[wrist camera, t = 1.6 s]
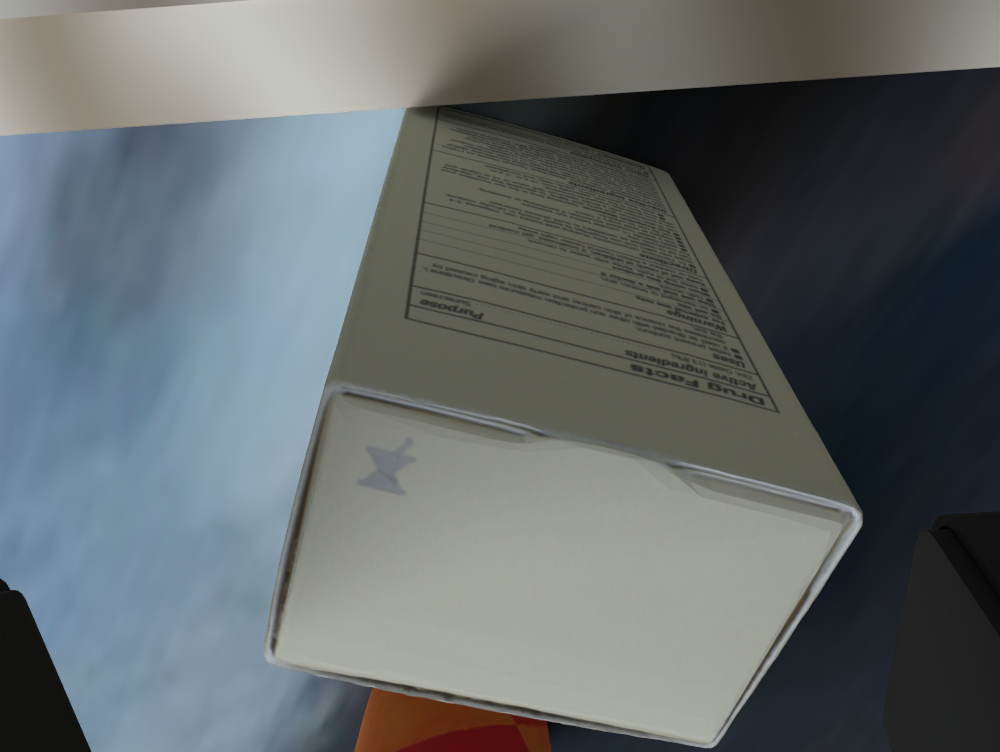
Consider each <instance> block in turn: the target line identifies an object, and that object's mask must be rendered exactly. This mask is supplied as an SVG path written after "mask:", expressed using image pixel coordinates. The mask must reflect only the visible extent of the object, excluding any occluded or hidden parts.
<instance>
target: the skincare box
mask: <svg viewBox="0 0 1000 752" xmlns="http://www.w3.org/2000/svg"><path fill="white" fill-rule="evenodd" d="M862 523H863V512H862V510H861V509H860V507H859V505H858V504H857V502H856V500H855V499H854V497H853V495H852V493H851V491H850V489H849V488H848V486H847V484H846V482H845V481H844V479H843V477H842V476H841V474H840V472H839V470H838V469H837V467H836V465H835V463H834V462H833V460H832V458H831V457H830V455H829V453H828V451H827V449H826V448H825V446H824V444H823V442H822V440H821V439H820V437H819V435H818V433H817V432H816V430H815V429H814V427H813V425H812V424H811V422H810V420H809V418H808V416H807V415H806V413H805V411H804V409H803V408H802V406H801V404H800V402H799V401H798V399H797V397H796V395H795V394H794V392H793V390H792V388H791V386H790V385H789V383H788V381H787V379H786V378H785V376H784V374H783V372H782V371H781V369H780V367H779V365H778V364H777V362H776V360H775V358H774V356H773V355H772V353H771V351H770V349H769V347H768V346H767V344H766V342H765V340H764V339H763V337H762V335H761V333H760V332H759V330H758V328H757V326H756V325H755V323H754V321H753V320H752V318H751V316H750V314H749V313H748V311H747V309H746V307H745V305H744V304H743V302H742V300H741V298H740V297H739V295H738V293H737V291H736V290H735V288H734V286H733V284H732V283H731V281H730V279H729V277H728V276H727V274H726V272H725V270H724V269H723V267H722V265H721V264H720V262H719V260H718V258H717V257H716V255H715V253H714V251H713V250H712V248H711V246H710V244H709V243H708V241H707V239H706V237H705V236H704V234H703V232H702V230H701V229H700V227H699V225H698V224H697V222H696V220H695V218H694V217H693V215H692V213H691V211H690V209H689V208H688V206H687V204H686V202H685V200H684V199H683V197H682V195H681V194H680V192H679V190H678V189H677V187H676V185H675V183H674V182H673V180H672V178H671V176H670V175H669V174H668V173H667V172H665V171H663V170H661V169H658V168H655V167H652V166H649V165H645V164H642V163H640V162H637V161H634V160H631V159H628V158H625V157H621V156H618V155H615V154H612V153H609V152H606V151H602V150H599V149H596V148H593V147H590V146H586V145H583V144H580V143H576V142H573V141H570V140H566V139H563V138H560V137H556V136H552V135H549V134H545V133H542V132H538V131H535V130H532V129H528V128H525V127H521V126H518V125H514V124H510V123H507V122H503V121H499V120H496V119H492V118H488V117H485V116H481V115H477V114H473V113H470V112H466V111H462V110H458V109H454V108H450V107H446V106H442V105H439V106H424V107H410V108H406V111H405V114H404V117H403V121H402V124H401V127H400V131H399V134H398V138H397V141H396V144H395V148H394V151H393V154H392V158H391V161H390V164H389V168H388V171H387V175H386V178H385V181H384V185H383V188H382V192H381V195H380V199H379V202H378V205H377V209H376V212H375V216H374V219H373V222H372V226H371V229H370V233H369V236H368V240H367V243H366V246H365V250H364V253H363V257H362V260H361V264H360V267H359V270H358V274H357V277H356V281H355V284H354V288H353V291H352V295H351V298H350V302H349V305H348V309H347V312H346V316H345V319H344V323H343V326H342V330H341V333H340V337H339V340H338V344H337V347H336V350H335V353H334V357H333V360H332V363H331V366H330V369H329V373H328V376H327V379H326V383H325V386H324V390H323V394H322V397H321V401H320V405H319V408H318V412H317V416H316V419H315V423H314V427H313V430H312V434H311V438H310V442H309V445H308V449H307V453H306V456H305V460H304V464H303V467H302V471H301V475H300V479H299V484H298V488H297V492H296V496H295V500H294V504H293V508H292V512H291V516H290V520H289V525H288V529H287V533H286V537H285V541H284V546H283V550H282V555H281V559H280V563H279V568H278V573H277V578H276V583H275V588H274V594H273V599H272V604H271V610H270V617H269V623H268V629H267V634H266V639H265V644H264V655H265V659H266V660H267V661H268V662H269V663H270V664H272V665H275V666H278V667H281V668H284V669H290V670H296V671H301V672H305V673H310V674H313V675H317V676H320V677H327V678H331V679H335V680H340V681H345V682H350V683H354V684H357V685H361V686H367V687H374V688H377V689H381V690H386V691H391V692H397V693H403V694H406V695H409V696H416V697H423V698H428V699H433V700H437V701H442V702H446V703H455V704H461V705H466V706H470V707H475V708H479V709H484V710H489V711H495V712H501V713H508V714H513V715H518V716H523V717H528V718H534V719H539V720H546V721H551V722H557V723H561V724H566V725H575V726H579V727H584V728H589V729H595V730H601V731H607V732H614V733H621V734H627V735H632V736H637V737H643V738H651V739H658V740H663V741H669V742H675V743H680V744H686V745H691V746H697V747H702V748H712V747H714V746H716V745H717V744H718V742H719V741H720V740H721V738H722V737H723V735H724V734H725V732H726V731H727V729H728V727H729V726H730V724H731V723H732V721H733V720H734V718H735V716H736V715H737V713H738V712H739V710H740V709H741V708H742V706H743V705H744V704H745V702H746V701H747V699H748V698H749V697H750V695H751V694H752V693H753V691H754V690H755V688H756V686H757V685H758V683H759V682H760V680H761V679H762V677H763V676H764V675H765V673H766V672H767V670H768V669H769V667H770V666H771V664H772V663H773V662H774V660H775V659H776V658H777V656H778V655H779V653H780V651H781V650H782V648H783V647H784V645H785V644H786V642H787V641H788V639H789V637H790V636H791V634H792V632H793V631H794V629H795V628H796V626H797V625H798V623H799V622H800V620H801V619H802V617H803V616H804V615H805V613H806V612H807V610H808V609H809V607H810V606H811V604H812V602H813V601H814V600H815V598H816V597H817V595H818V594H819V592H820V591H821V589H822V588H823V586H824V585H825V583H826V581H827V580H828V578H829V577H830V575H831V573H832V572H833V570H834V569H835V567H836V566H837V564H838V562H839V561H840V559H841V558H842V556H843V555H844V553H845V552H846V550H847V549H848V547H849V546H850V544H851V543H852V541H853V540H854V538H855V536H856V535H857V533H858V532H859V530H860V528H861V527H862Z"/></svg>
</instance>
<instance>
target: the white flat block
mask: <svg viewBox="0 0 1000 752" xmlns="http://www.w3.org/2000/svg"><path fill="white" fill-rule="evenodd" d="M989 67H1000V0H0V136H4V135H19V134H33V133H48V132H62V131H77V130H91V129H105V128H120V127H134V126H149V125H163V124H178V123H192V122H207V121H221V120H236V119H250V118H265V117H279V116H294V115H308V114H323V113H337V112H352V111H366V110H381V109H395V108H410V107H424V106H439V105H453V104H468V103H482V102H497V101H511V100H526V99H540V98H555V97H569V96H584V95H598V94H613V93H627V92H642V91H656V90H671V89H685V88H700V87H714V86H729V85H743V84H758V83H772V82H787V81H801V80H816V79H830V78H845V77H859V76H874V75H888V74H903V73H917V72H931V71H946V70H960V69H975V68H989Z"/></svg>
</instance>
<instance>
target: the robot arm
mask: <svg viewBox="0 0 1000 752" xmlns="http://www.w3.org/2000/svg"><path fill="white" fill-rule="evenodd" d="M883 718H884V727H885V732H886V736H887V740H888V742H889V745H890V747H891V750H892V752H1000V513H999V512H983V513H968V514H953V515H943V516H939V517H938V518H937V519H936V521H935V522H934V525H933V528H932V530H927V531H922V532H921V533H920V534H919V535H918V537H917V541H916V545H915V550H914V555H913V560H912V565H911V570H910V576H909V581H908V586H907V591H906V596H905V601H904V606H903V612H902V617H901V622H900V627H899V632H898V637H897V642H896V647H895V653H894V658H893V663H892V668H891V673H890V678H889V683H888V688H887V694H886V699H885V704H884V711H883ZM0 752H91V750H90V747H89V745H88V743H87V741H86V738H85V736H84V734H83V731H82V729H81V727H80V724H79V722H78V720H77V717H76V715H75V713H74V710H73V708H72V706H71V703H70V701H69V699H68V697H67V694H66V692H65V690H64V687H63V685H62V683H61V680H60V678H59V676H58V673H57V671H56V669H55V666H54V664H53V662H52V659H51V657H50V655H49V653H48V650H47V648H46V646H45V643H44V641H43V639H42V636H41V634H40V632H39V629H38V627H37V625H36V622H35V620H34V618H33V615H32V613H31V611H30V608H29V606H28V604H27V602H26V599H25V598H24V596H23V595H22V593H20V592H19V591H17V590H10V588H9V587H8V585H7V584H6V582H4V581H3V580H1V579H0Z"/></svg>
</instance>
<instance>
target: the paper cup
mask: <svg viewBox="0 0 1000 752" xmlns="http://www.w3.org/2000/svg"><path fill="white" fill-rule="evenodd" d="M355 752H551V748H550V740H549V733H548V726H547V721H546V720H539V719H534V718H528V717H523V716H518V715H513V714H508V713H501V712H495V711H489V710H484V709H479V708H475V707H470V706H466V705H461V704H455V703H446V702H442V701H437V700H433V699H428V698H423V697H416V696H409V695H406V694H403V693H397V692H391V691H386V690H381V689H377V688H374V687H373V689H372V691H371V694H370V697H369V700H368V704H367V707H366V710H365V714H364V718H363V721H362V725H361V729H360V733H359V736H358V740H357V744H356V748H355Z"/></svg>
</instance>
